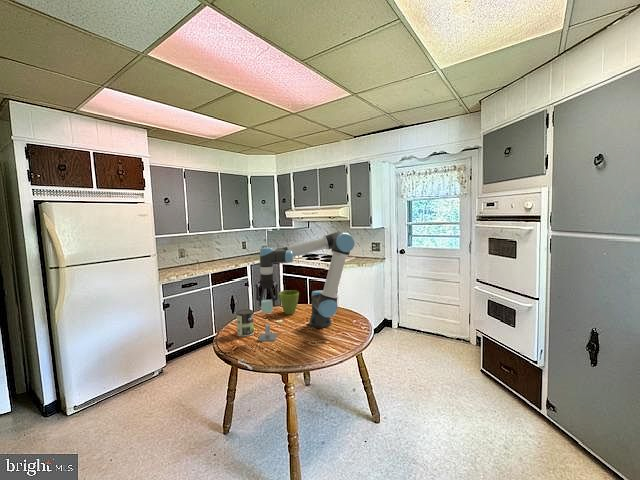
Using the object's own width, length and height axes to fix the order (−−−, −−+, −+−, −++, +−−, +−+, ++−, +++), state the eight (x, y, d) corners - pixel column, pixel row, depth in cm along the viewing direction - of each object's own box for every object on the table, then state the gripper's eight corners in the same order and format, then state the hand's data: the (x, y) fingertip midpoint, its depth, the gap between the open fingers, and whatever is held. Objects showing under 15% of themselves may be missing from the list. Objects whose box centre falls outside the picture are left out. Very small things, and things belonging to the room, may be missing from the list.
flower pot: (275, 313, 227) (275, 292, 226) (289, 308, 239) (289, 289, 237) (289, 317, 218) (288, 296, 216) (303, 312, 229) (303, 292, 228)
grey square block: (277, 334, 187) (276, 322, 186) (275, 340, 177) (275, 328, 176) (260, 334, 187) (260, 322, 186) (258, 341, 177) (258, 328, 176)
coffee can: (256, 330, 193) (255, 309, 192) (249, 337, 183) (248, 314, 182) (241, 329, 195) (241, 308, 194) (234, 336, 185) (233, 313, 184)
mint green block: (272, 310, 183) (271, 299, 183) (271, 313, 178) (271, 302, 177) (263, 310, 183) (263, 300, 182) (262, 313, 178) (262, 302, 177)
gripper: (282, 272, 183) (282, 309, 185) (252, 272, 182) (253, 309, 184) (281, 274, 175) (282, 313, 177) (250, 274, 174) (251, 313, 176)
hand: (267, 311), depth 180 cm, fingers closed on mint green block, 5 cm apart
